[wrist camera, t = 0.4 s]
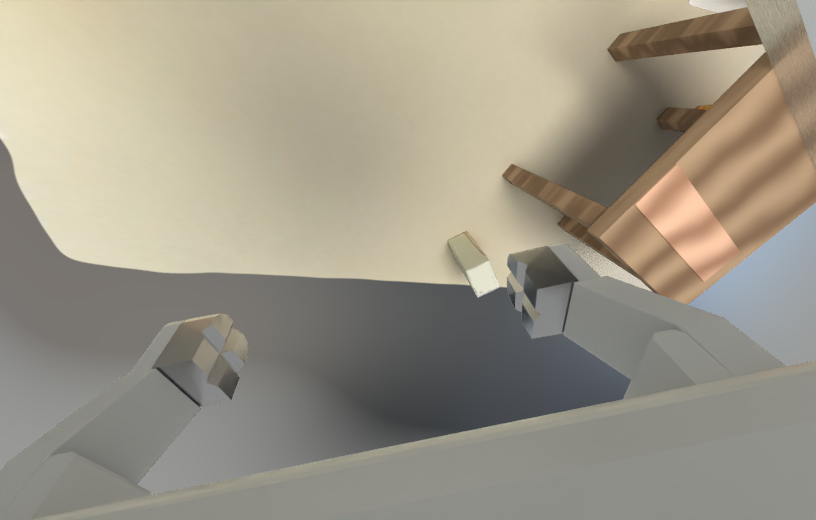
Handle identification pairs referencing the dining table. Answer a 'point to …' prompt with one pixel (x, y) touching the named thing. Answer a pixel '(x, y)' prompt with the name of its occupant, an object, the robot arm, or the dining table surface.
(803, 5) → the brushed metal block
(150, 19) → the dining table surface
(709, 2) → the heart sculpture
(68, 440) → the robot arm
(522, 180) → the wooden stool
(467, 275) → the skincare box
